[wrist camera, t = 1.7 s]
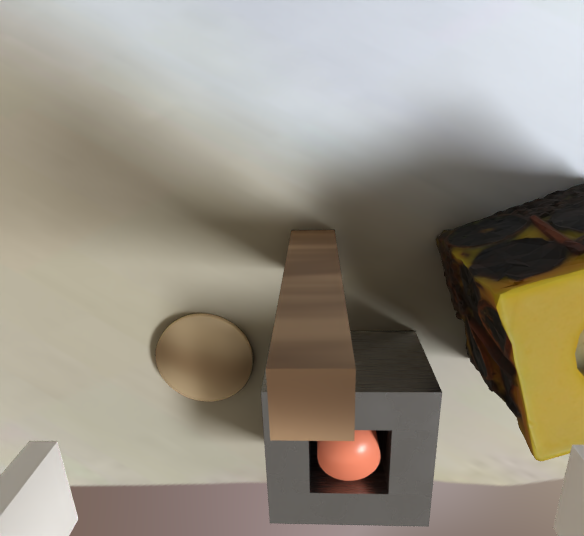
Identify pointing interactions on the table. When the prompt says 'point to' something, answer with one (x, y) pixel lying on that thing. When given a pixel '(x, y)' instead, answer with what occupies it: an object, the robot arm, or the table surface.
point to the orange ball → (350, 456)
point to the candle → (526, 312)
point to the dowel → (311, 346)
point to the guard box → (391, 437)
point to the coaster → (204, 357)
